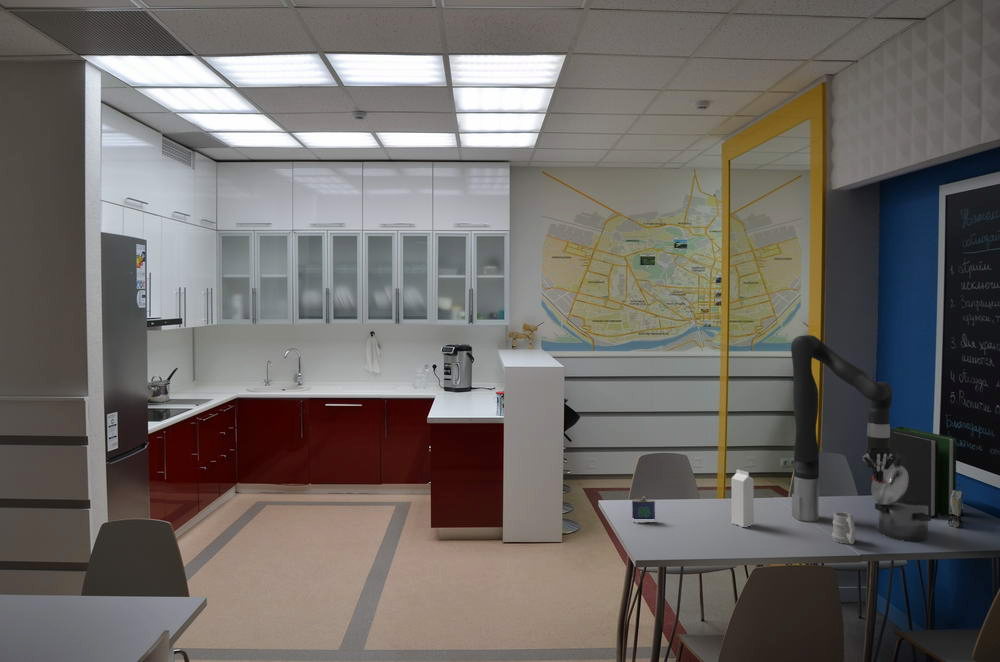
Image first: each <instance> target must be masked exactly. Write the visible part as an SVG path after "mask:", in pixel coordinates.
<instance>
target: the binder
mask: <svg viewBox="0 0 1000 662" xmlns="http://www.w3.org/2000/svg"><path fill="white" fill-rule="evenodd" d="M889 450H890V452H891V454H892V455H893V456H896V453H898V454H901V455H903V456H906V459H905V462H904V464H903V466H904V467H905V469H906V470H907V472H908V477H909V482H908V487H907V490H906V492H905V494H904V495H903V497H902V498H909V499H914V500H918V501H921V502H924V503H926V504H927V505H928V516H931V517H933V516H934V518H936V519H938V517H939V515H942V514H943V516H945V515H946V516H945V517H948V516H949V517H950V515H951V514H950V498H951V494H952V491H953V490H956V491H957V438H955V437H950V436H947V435H943V434H939V433H938V434H937V433H932V432H928V431H923V430H921V429H920V430H919V429H915V428H911V427H907V426H893V428H890V448H889ZM939 513H940V514H939Z"/></svg>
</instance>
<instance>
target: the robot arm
mask: <svg viewBox="0 0 1000 662" xmlns="http://www.w3.org/2000/svg"><path fill="white" fill-rule="evenodd" d="M790 351H791V352H790V353H791V359H792V368H793V369H792V370H793V371H792V372H793V377H792V378H793V395H792V397H793V399H792V400H793V413H794V414H793V415H794V420H795V422H794V423H795V440H794V441H795V442H794V445H793V457H794V458H793V465H794V466H793V493H791V517H793V518H795V519H796V520H798V521H802V522H803V521H804V522H817V521H819V519H820V513H819V512H820V511H819V510H820V508H819V507H820V506H819V505H820V503H819V502H820V499H819V495H820V494H819V493H820V491H819V490H820V481H819V479H820V477H819V476H820V474H819V473H820V467H819V466H820V461H819V460H820V455H819V454H820V452H819V451H820V448H819V443H818V439H817V424H818V423H817V422H818V413H819V389H818V386H817V385H818V384H817V382H816V380H815V378H814V377H815V376H814V375H813V370H812V369H813V368H812V364H813V363H812V362H813V361H812V360H817V361H819V362H821V363H822V364H824V365H825V366H826V367H828V368H829V370H831V371H832V372H833V373H834V375H836V376H837V377H838V378H839V379H840V380H842V381H843V382H845V383H846V384H849V385H850V386H851V387H853V388H854V389H856V390H857V392H859V393H860V394H861V395H862V396H863V397H865V398H866V399H868V400H869V401H871V406H870V407H869V408H868V411H867V427H866V428H867V429H866V442H867V443H866V446H867V450H866V453H865V454H864V455H861V456H860V458H861V460H862V461H863V463H864V464H865V465H866V467H867V468H868V469H871V470H873V474H874V479H875V480H876V481H882V479H883V471H884V470H885V469H889V467H890V466H891V465H892V463H893V462H894V461H895V459H896V456H893V455H892V454H891V452H890V450H889V448H890V429H891V425H890V411H891V410H890V409H891V406H892V400H893V389H892V387H891V385H890V383H887V382H886V381H874V380H873V379H872V378H870V377H869V375H868V374H867V372H865V371H864V370H863V369H861V368H860V367H858V366H856V365H854V364H853V363H851V362H849V361H848V360H847V359H845V358H844V357H842V356H840V355H838V354H837V353H836V352H835V351H833V350H832V349H831V348H830V347H828V346H827V345H826V344H825V343H824V342H823V341H822V340H820V339H819V338H818V337H816V336H815V335H811V334H807V335H797V336H796V337H794V339H793V340H792V342H791V347H790Z"/></svg>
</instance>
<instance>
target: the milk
mask: <svg viewBox="0 0 1000 662" xmlns="http://www.w3.org/2000/svg"><path fill="white" fill-rule="evenodd" d="M749 474H750V473H749V472H748V471H745V470H741V469H739V468H738V469H736V472H735V474H734V475H733V476H732V477H731V524H732V523H735V524H738V525H740V526H743V527H745V526H749V525H754V520H755V519H754V518H755V517H754V516H755V515H754V514H755V511H754V506H755V505H754V503H755V500H754V498H755V497H754V496H755V495H754V494H755V493H754V492H755V491H754V486H755V485H754V478H752V476H750V475H749ZM754 526H755V525H754Z"/></svg>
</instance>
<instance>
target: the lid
mask: <svg viewBox="0 0 1000 662" xmlns="http://www.w3.org/2000/svg"><path fill="white" fill-rule="evenodd" d="M905 459H906V456H903V455H901V454H898V453H896V459H895V461H894V462H893V463H892V465H891V466H890V467H889V469H885V470H884V471H883V479H882V481H876V480H875V479H874V473H872V475H871V480H872V481H871V485H870V486H871V487H870V488H871V490H870V491H871V496H872V498H873V500H874V501H875V502H876V503H880V504H882V505H886V506H889V505H893V504H895V503H896V502H898V501H899V500H900V499H901V498H902V497H903V495H904V494H905V492H906V490H907V487H908V482H909V477H908V472H907V470H906V469H905V467H904V466H903V464H904V462H905Z"/></svg>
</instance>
